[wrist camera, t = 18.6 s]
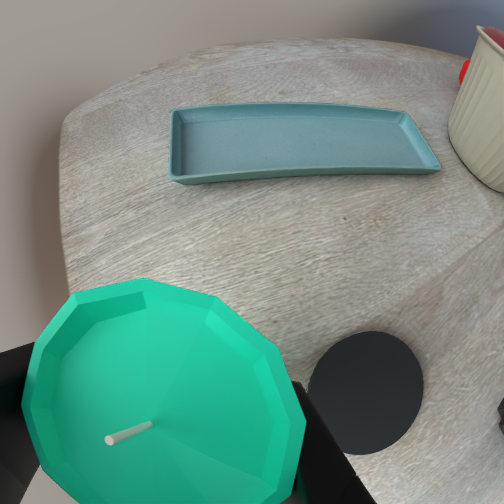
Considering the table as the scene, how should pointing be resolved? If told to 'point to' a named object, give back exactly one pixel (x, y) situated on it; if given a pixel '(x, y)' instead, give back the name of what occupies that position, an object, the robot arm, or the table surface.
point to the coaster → (367, 391)
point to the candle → (161, 401)
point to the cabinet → (501, 408)
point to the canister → (482, 111)
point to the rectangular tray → (293, 141)
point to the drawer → (502, 425)
